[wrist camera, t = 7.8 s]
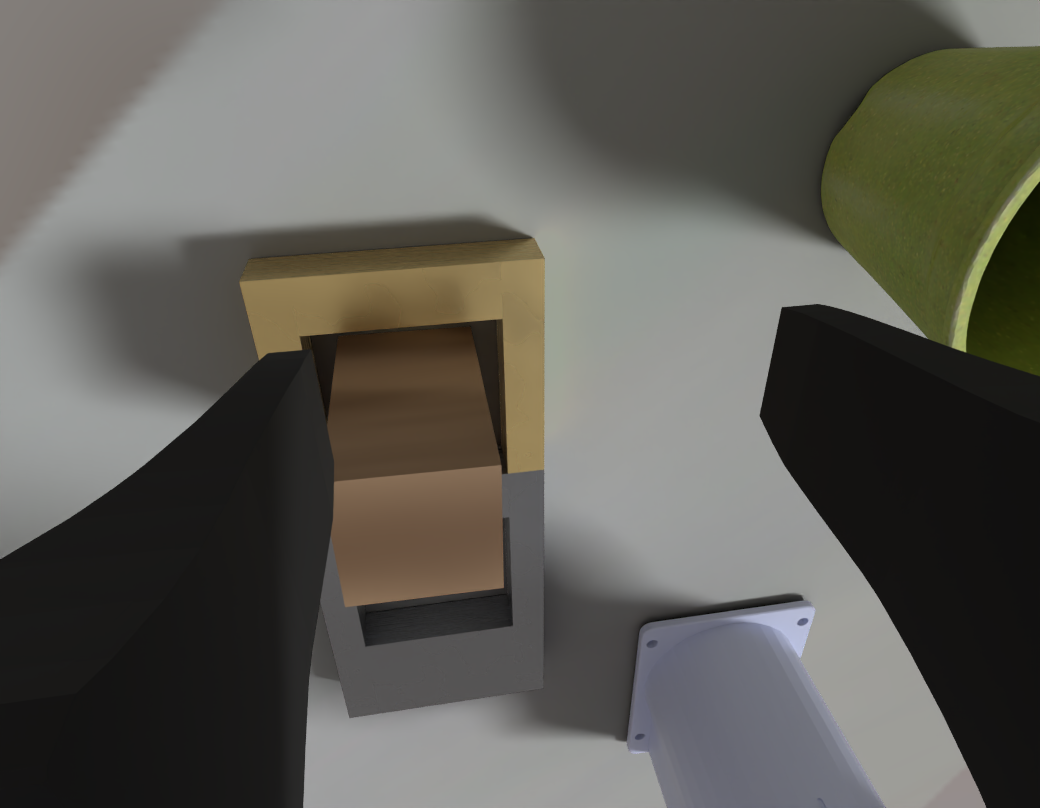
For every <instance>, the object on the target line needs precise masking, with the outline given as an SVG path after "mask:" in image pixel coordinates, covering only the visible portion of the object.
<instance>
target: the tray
mask: <svg viewBox="0 0 1040 808" xmlns="http://www.w3.org/2000/svg"><path fill="white" fill-rule="evenodd" d="M544 279H545V258H544V256H543V255H542V253H541V251H540V249H539V247H538V245H537V243H536V241H535V239H534V238H530V239H516V240H503V241H489V242H475V243H461V244H448V245H434V246H420V247H406V248H393V249H379V250H365V251H352V252H338V253H324V254H310V255H297V256H283V257H269V258H255V259H249V261H248V263H247V265H246V267H245V270H244V272H243V274H242V277H241V279H240V281H239V283H240V287H241V291H242V295H243V299H244V303H245V307H246V311H247V315H248V319H249V322H250V326H251V330H252V334H253V338H254V342H255V346H256V350H257V354H258V358H259V360H260V359H261V358H263V357H264V356H265V355H266V354H267V353H274V352H286V351H297V350H308V349H311V351H312V356H313V360H314V365H315V370H316V375H317V380H318V385H319V390H320V395H321V400H322V404H323V409H324V414H325V419H326V424H327V423H328V422H327V417H326V412H325V407H324V402H323V397H322V392H321V388H320V383H319V378H318V373H317V368H316V363H315V358H314V353H313V348H312V343H311V338H310V335H322V334H333V333H345V332H356V331H368V330H380V329H391V328H403V327H414V326H426V325H437V324H449V323H460V322H472V321H483V320H495V319H496V324H497V349H498V375H499V400H500V426H501V445H497V447H498V452H499V456H500V461H501V470H502V518H504V528H505V553H506V579H507V594H505V595H498V596H491V597H483V598H476V599H468V600H461V601H454V602H446V603H439V604H431V605H424V606H417V607H409V608H402V609H394V610H387V611H379V612H372V613H366V609H365V605H360V606H351V607H345V604H344V599H343V594H342V589H341V584H340V579H339V574H338V569H337V564H336V559H335V554H334V549H333V544H332V539H331V536H330V543H329V549H328V556H327V562H326V568H325V574H324V580H323V587H322V593H321V599H320V603H321V607H322V611H323V615H324V619H325V623H326V627H327V631H328V635H329V639H330V643H331V647H332V651H333V655H334V658H335V662H336V666H337V670H338V674H339V678H340V682H341V686H342V690H343V694H344V698H345V702H346V706H347V710H348V714H349V718H353V717H359V716H366V715H373V714H379V713H386V712H392V711H399V710H405V709H412V708H418V707H425V706H432V705H438V704H445V703H451V702H458V701H464V700H471V699H478V698H484V697H491V696H497V695H504V694H510V693H517V692H523V691H530V690H537V689H543V688H544Z"/></svg>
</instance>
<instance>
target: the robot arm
mask: <svg viewBox="0 0 1040 808" xmlns="http://www.w3.org/2000/svg"><path fill="white" fill-rule="evenodd" d="M760 418H761V420H762V422H763V424H764V426H765V428H766V430H767V432H768V435H769V437H770V439H771V441H772V443H773V445H774V447H775V449H776V450H777V452H778V454H779V456H780V458H781V460H782V462H783V463H784V465H785V467H786V468H787V470H788V471H789V473H790V474H791V476H792V477H793V478H794V480H795V481H796V483H797V484H798V485H799V487H800V488H801V490H802V491H803V492H804V494H805V495H806V497H807V498H808V499H809V501H810V502H811V504H812V505H813V506H814V508H815V509H816V510H817V512H818V513H819V515H820V516H821V517H822V519H823V520H824V521H825V523H826V524H827V525H828V527H829V528H830V530H831V531H832V532H833V534H834V535H835V536H836V538H837V539H838V540H839V542H840V543H841V545H842V546H843V547H844V549H845V550H846V551H847V553H848V554H849V556H850V557H851V558H852V560H853V561H854V562H855V564H856V565H857V566H858V568H859V569H860V571H861V572H862V573H863V575H864V576H865V578H866V579H867V581H868V582H869V584H870V585H871V587H872V588H873V590H874V591H875V593H876V594H877V596H878V598H879V599H880V601H881V603H882V604H883V606H884V608H885V610H886V611H887V613H888V615H889V617H890V618H891V620H892V622H893V624H894V625H895V627H896V629H897V631H898V632H899V634H900V636H901V638H902V639H903V641H904V643H905V645H906V646H907V648H908V650H909V652H910V653H911V655H912V657H913V659H914V661H915V663H916V665H917V667H918V669H919V670H920V672H921V674H922V676H923V678H924V680H925V682H926V684H927V686H928V687H929V689H930V691H931V693H932V695H933V697H934V699H935V701H936V703H937V705H938V706H939V708H940V710H941V712H942V714H943V716H944V718H945V720H946V722H947V724H948V727H949V729H950V731H951V733H952V735H953V737H954V739H955V741H956V743H957V745H958V747H959V749H960V752H961V754H962V756H963V758H964V760H965V762H966V764H967V766H968V768H969V770H970V772H971V774H972V777H973V779H974V781H975V783H976V785H977V787H978V789H979V791H980V794H981V796H982V798H983V801H984V803H985V805H986V808H1040V376H1038V375H1034V374H1031V373H1028V372H1025V371H1022V370H1018V369H1015V368H1012V367H1009V366H1006V365H1003V364H999V363H996V362H993V361H990V360H987V359H984V358H981V357H978V356H975V355H972V354H969V353H966V352H963V351H960V350H958V349H955V348H952V347H949V346H946V345H943V344H941V343H938V342H935V341H932V340H929V339H927V338H924V337H921V336H918V335H916V334H913V333H910V332H907V331H904V330H902V329H899V328H896V327H893V326H890V325H888V324H885V323H882V322H879V321H876V320H873V319H871V318H868V317H864V316H861V315H858V314H855V313H852V312H849V311H845V310H842V309H838V308H834V307H830V306H825V305H821V304H814V305H803V306H792V307H782V309H781V314H780V319H779V324H778V329H777V333H776V338H775V343H774V348H773V353H772V358H771V363H770V368H769V372H768V377H767V382H766V387H765V392H764V397H763V402H762V407H761V411H760ZM333 506H334V458H333V453H332V449H331V444H330V439H329V434H328V429H327V424H326V419H325V414H324V409H323V404H322V400H321V395H320V390H319V385H318V380H317V375H316V370H315V365H314V360H313V356H312V351H311V349H308V350H297V351H286V352H274V353H267V354H266V355H265V356H264V357H263V358H261V359H260V360H259V361H258V362H257V363H256V364H255V365H254V366H253V367H252V368H251V369H250V370H249V371H248V372H247V373H246V374H245V375H244V376H243V377H242V378H241V379H240V380H239V381H238V382H237V383H236V384H234V385H233V386H232V387H231V388H230V389H229V390H228V391H227V392H226V393H225V394H224V395H223V396H222V397H221V398H220V399H219V400H218V401H217V402H216V403H215V404H214V405H213V406H212V407H211V408H209V409H208V410H207V411H206V412H205V413H204V414H203V415H202V416H201V417H200V418H199V419H198V420H197V421H196V422H195V423H193V424H192V425H191V426H190V427H189V428H188V429H186V430H185V431H184V432H183V433H182V434H180V435H179V436H178V437H177V438H176V439H175V440H173V441H172V442H171V443H170V444H169V445H168V446H166V447H165V448H164V449H163V450H162V451H160V452H159V453H158V454H157V455H156V456H155V457H153V458H152V459H151V460H150V461H149V462H148V463H146V464H145V465H144V466H142V467H141V468H140V469H139V470H137V471H136V472H135V473H133V474H132V475H131V476H129V477H128V478H127V479H125V480H124V481H123V482H121V483H120V484H119V485H117V486H116V487H115V488H113V489H112V490H110V491H109V492H107V493H106V494H104V495H103V496H102V497H100V498H99V499H97V500H96V501H94V502H93V503H91V504H90V505H89V506H87V507H86V508H84V509H83V510H81V511H80V512H78V513H77V514H75V515H74V516H72V517H71V518H69V519H67V520H66V521H64V522H63V523H61V524H59V525H58V526H56V527H54V528H53V529H51V530H49V531H47V532H46V533H44V534H42V535H41V536H39V537H37V538H36V539H34V540H32V541H31V542H29V543H27V544H25V545H24V546H22V547H20V548H19V549H17V550H15V551H14V552H12V553H10V554H9V555H7V556H5V557H4V558H2V559H0V808H303V796H304V770H305V745H306V725H307V706H308V687H309V674H310V666H311V657H312V648H313V642H314V636H315V630H316V624H317V617H318V611H319V605H320V599H321V593H322V587H323V580H324V574H325V568H326V562H327V556H328V549H329V543H330V536H331V530H332V523H333ZM814 614H815V608H814V607H813V605H812V604H811V602H809V601H796V602H789V603H782V604H775V605H768V606H762V607H755V608H748V609H741V610H734V611H727V612H720V613H713V614H706V615H699V616H692V617H685V618H678V619H671V620H664V621H657V622H651V623H647V624H645V625H644V626H643V627H642V628H641V629H640V632H639V641H638V649H637V658H636V667H635V675H634V684H633V693H632V701H631V710H630V719H629V727H628V736H627V747H628V750H629V752H631V753H634V754H636V753H643V752H649V754H650V757H651V760H652V763H653V766H654V769H655V772H656V775H657V778H658V782H659V785H660V788H661V791H662V794H663V797H664V800H665V803H666V806H667V808H886V807H885V805H884V804H883V802H882V800H881V798H880V797H879V795H878V793H877V791H876V790H875V788H874V786H873V784H872V783H871V781H870V779H869V778H868V776H867V774H866V772H865V771H864V769H863V767H862V765H861V764H860V762H859V760H858V759H857V757H856V755H855V753H854V752H853V750H852V748H851V746H850V745H849V743H848V741H847V740H846V738H845V736H844V734H843V733H842V731H841V729H840V727H839V726H838V724H837V722H836V721H835V719H834V717H833V715H832V714H831V712H830V710H829V708H828V707H827V705H826V703H825V702H824V700H823V698H822V696H821V695H820V693H819V691H818V689H817V688H816V686H815V684H814V683H813V681H812V679H811V677H810V676H809V674H808V672H807V670H806V669H805V667H804V665H803V664H802V662H801V660H800V658H801V655H802V652H803V649H804V646H805V642H806V639H807V636H808V633H809V630H810V627H811V623H812V620H813V617H814Z"/></svg>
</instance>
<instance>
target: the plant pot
mask: <svg viewBox="0 0 1040 808" xmlns="http://www.w3.org/2000/svg"><path fill="white" fill-rule="evenodd" d="M821 201H822V207H823V212H824V215H825V218H826V221H827V224H828V226H829V228H830V230H831V232H832V233H833V235H834V236H835V238H836V239H837V240H838V241H839V243H840V244H841V245H842V246H843V247H844V248H845V249H846V250H847V251H848V252H849V254H850V255H851V256H852V257H853V258H854V259H855V260H856V261H857V262H858V263H859V264H860V265H861V266H862V267H863V268H864V269H865V270H866V271H867V272H868V273H869V274H870V275H871V276H872V277H873V279H874V280H875V281H876V282H877V283H878V284H879V285H880V286H881V287H882V288H883V289H884V290H885V291H886V293H887V294H888V295H889V296H890V297H891V298H892V299H893V300H894V301H895V302H896V303H897V305H898V306H899V307H900V308H901V309H902V310H903V311H904V312H905V313H906V315H907V316H908V317H909V318H910V319H911V320H912V321H913V322H914V323H915V324H916V326H917V327H918V328H919V329H920V330H921V331H922V332H923V333H924V334H925V336H926V337H927V338H928V339H929V340H932V341H935V342H938V343H941V344H943V345H946V346H949V347H952V348H955V349H958V350H960V351H963V352H966V353H969V354H972V355H975V356H978V357H981V358H984V359H987V360H990V361H993V362H996V363H999V364H1003V365H1006V366H1009V367H1012V368H1015V369H1018V370H1022V371H1025V372H1028V373H1031V374H1034V375H1038V376H1040V46H1035V47H994V48H958V49H943V50H938V51H934V52H930V53H927V54H924V55H921V56H919V57H916V58H914V59H911V60H910V61H908V62H906V63H904V64H902V65H900V66H899V67H897V68H895V69H894V70H892V71H891V72H889V73H888V74H886V75H885V76H884V77H882V78H881V79H880V80H879V81H878V82H877V83H875V84H874V85H873V86H872V87H871V88H870V89H869V91H868V93H867V94H866V96H865V98H864V100H863V101H862V103H861V104H860V106H859V107H858V109H857V110H856V111H855V113H854V114H853V115H852V116H851V118H850V119H849V120H848V122H847V123H846V124H845V126H844V127H843V128H842V130H841V131H840V132H839V133H838V134H837V135H836V136H835V138H834V140H833V142H832V144H831V146H830V149H829V152H828V154H827V157H826V161H825V165H824V169H823V174H822V182H821Z"/></svg>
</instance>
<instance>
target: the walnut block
mask: <svg viewBox="0 0 1040 808" xmlns="http://www.w3.org/2000/svg"><path fill="white" fill-rule="evenodd" d="M327 429H328V434H329V439H330V444H331V449H332V453H333V458H334V506H333V523H332V530H331V539H332V544H333V549H334V554H335V559H336V564H337V569H338V574H339V579H340V584H341V589H342V594H343V599H344V604H345V607H351V606H360V605H368V604H376V603H384V602H392V601H400V600H409V599H417V598H425V597H433V596H441V595H449V594H458V593H466V592H474V591H482V590H490V589H498V588H504V573H503V521H502V470H501V461H500V456H499V452H498V447H497V443H496V438H495V434H494V429H493V425H492V420H491V416H490V411H489V407H488V402H487V398H486V393H485V389H484V384H483V380H482V375H481V371H480V366H479V362H478V357H477V353H476V348H475V344H474V339H473V335H472V330H471V326H467V327H453V328H439V329H426V330H412V331H398V332H384V333H371V334H357V335H343V336H338V340H337V348H336V357H335V365H334V373H333V382H332V390H331V398H330V406H329V415H328V423H327Z"/></svg>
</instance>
